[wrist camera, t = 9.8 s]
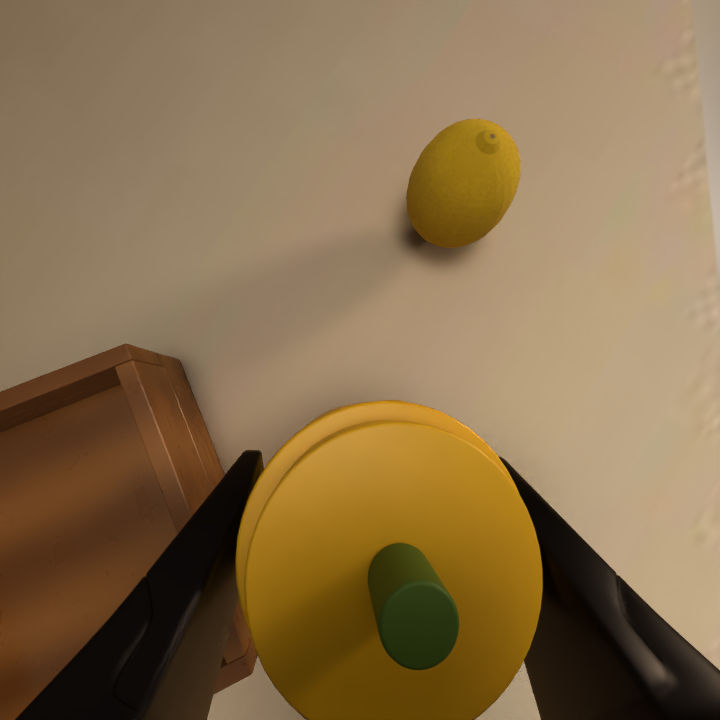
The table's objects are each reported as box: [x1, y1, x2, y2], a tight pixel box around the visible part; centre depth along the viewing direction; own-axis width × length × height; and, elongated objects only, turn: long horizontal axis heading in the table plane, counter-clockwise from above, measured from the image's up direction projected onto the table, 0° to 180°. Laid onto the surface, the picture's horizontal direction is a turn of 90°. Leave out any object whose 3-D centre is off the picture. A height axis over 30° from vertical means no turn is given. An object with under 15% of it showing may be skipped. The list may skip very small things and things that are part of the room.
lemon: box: [406, 119, 520, 248], centre depth 19 cm, size 6×6×8 cm
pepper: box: [235, 400, 543, 720], centre depth 9 cm, size 6×6×9 cm
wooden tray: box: [0, 344, 257, 720], centre depth 16 cm, size 15×14×6 cm
